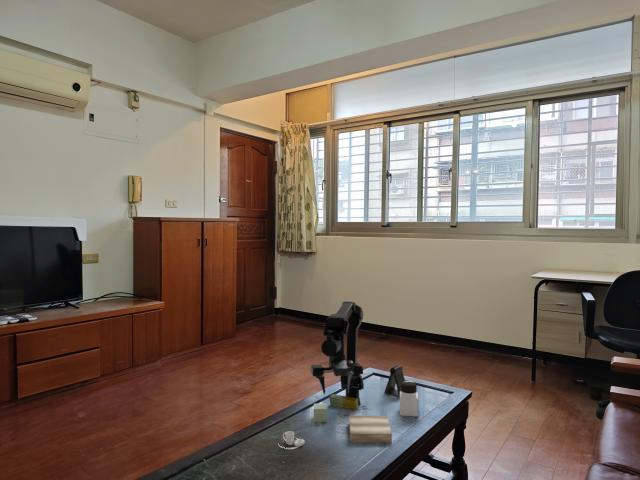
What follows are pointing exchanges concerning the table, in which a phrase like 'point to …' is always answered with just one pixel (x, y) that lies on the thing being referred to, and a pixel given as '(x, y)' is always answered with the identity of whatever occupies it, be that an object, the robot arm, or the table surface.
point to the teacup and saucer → (292, 440)
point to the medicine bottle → (408, 399)
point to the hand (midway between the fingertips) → (336, 393)
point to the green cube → (320, 412)
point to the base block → (369, 429)
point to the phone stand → (395, 381)
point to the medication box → (344, 401)
